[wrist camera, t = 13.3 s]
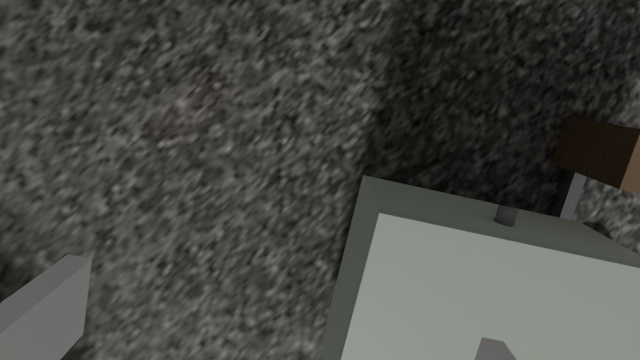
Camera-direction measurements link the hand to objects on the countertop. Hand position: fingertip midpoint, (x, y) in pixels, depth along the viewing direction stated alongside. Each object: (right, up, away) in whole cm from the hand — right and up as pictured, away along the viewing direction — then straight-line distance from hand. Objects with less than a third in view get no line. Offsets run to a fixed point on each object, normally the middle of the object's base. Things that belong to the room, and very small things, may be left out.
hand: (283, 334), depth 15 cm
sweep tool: (+25, +3, +29) cm, 38 cm away
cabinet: (+13, -3, +30) cm, 33 cm away
